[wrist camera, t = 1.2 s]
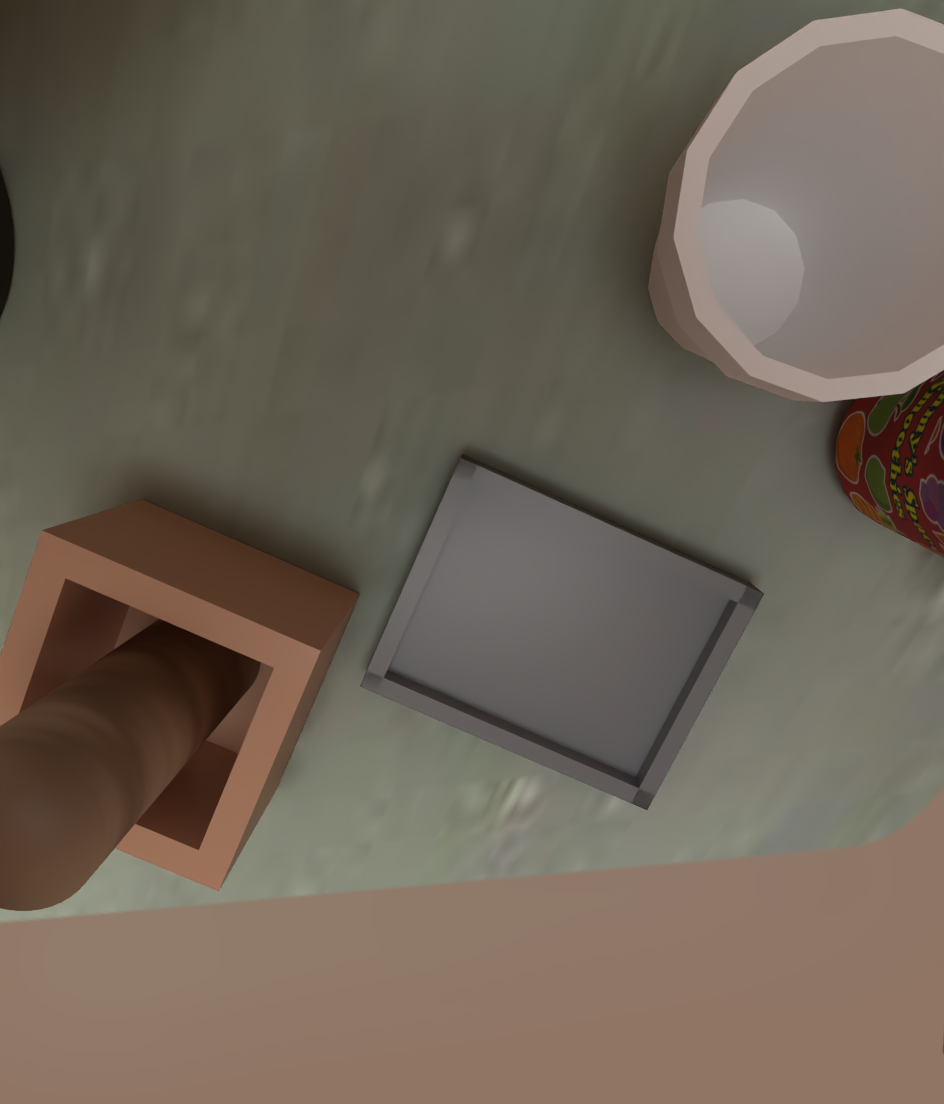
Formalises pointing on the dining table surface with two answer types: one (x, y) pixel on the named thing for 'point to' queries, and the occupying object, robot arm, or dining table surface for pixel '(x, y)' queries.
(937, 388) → the smoothie
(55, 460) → the dining table surface
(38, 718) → the dowel
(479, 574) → the tray
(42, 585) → the open box
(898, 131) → the foam cup
